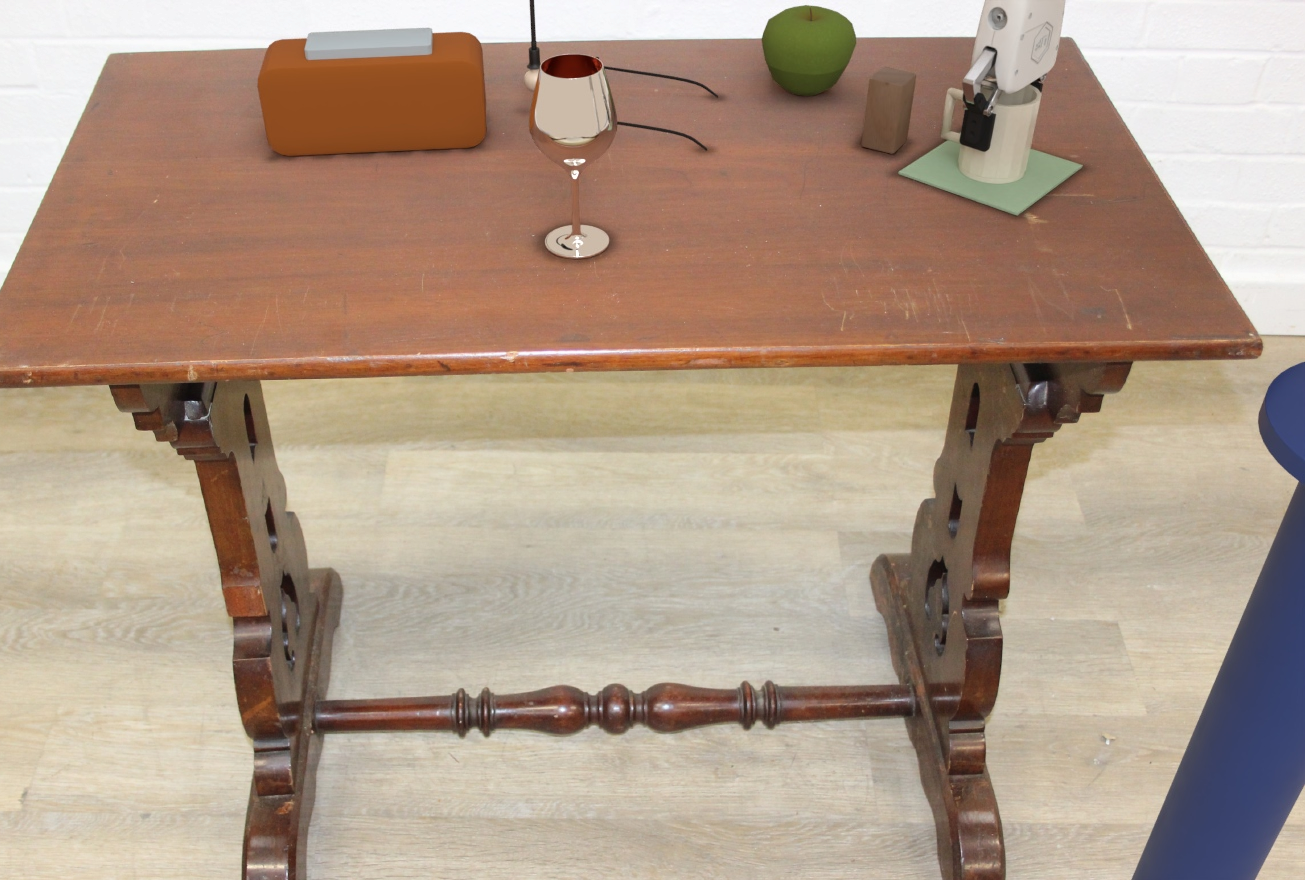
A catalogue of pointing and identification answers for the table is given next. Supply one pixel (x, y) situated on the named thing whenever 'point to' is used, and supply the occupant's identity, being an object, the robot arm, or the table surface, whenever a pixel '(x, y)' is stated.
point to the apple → (808, 48)
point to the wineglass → (573, 136)
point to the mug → (998, 136)
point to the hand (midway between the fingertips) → (997, 131)
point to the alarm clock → (373, 92)
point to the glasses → (667, 78)
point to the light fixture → (532, 54)
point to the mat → (1007, 197)
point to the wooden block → (888, 109)
